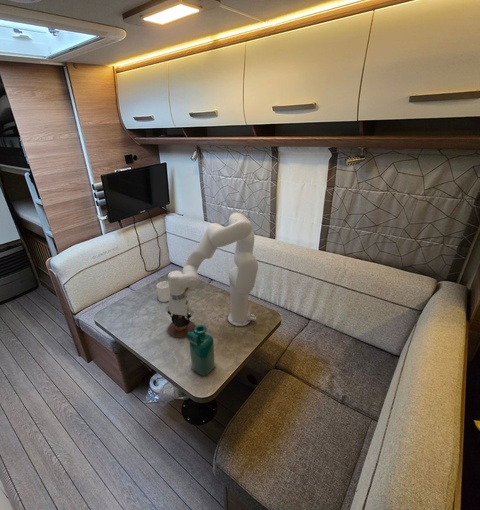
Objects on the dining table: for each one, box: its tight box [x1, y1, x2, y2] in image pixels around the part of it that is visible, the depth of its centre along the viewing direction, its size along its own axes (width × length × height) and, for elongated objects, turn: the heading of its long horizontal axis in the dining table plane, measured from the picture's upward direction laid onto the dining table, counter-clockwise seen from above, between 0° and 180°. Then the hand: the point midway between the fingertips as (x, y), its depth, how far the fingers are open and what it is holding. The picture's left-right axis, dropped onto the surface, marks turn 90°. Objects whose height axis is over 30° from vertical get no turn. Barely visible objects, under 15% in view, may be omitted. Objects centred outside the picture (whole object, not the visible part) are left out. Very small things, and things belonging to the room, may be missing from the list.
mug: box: [155, 281, 170, 303], centre depth 176 cm, size 12×8×10 cm
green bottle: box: [186, 324, 216, 377], centre depth 120 cm, size 10×8×22 cm
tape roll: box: [173, 314, 186, 327], centre depth 147 cm, size 7×7×4 cm
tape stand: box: [167, 315, 196, 339], centre depth 148 cm, size 14×14×8 cm
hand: (180, 322), depth 148 cm, fingers closed on tape roll, 7 cm apart
